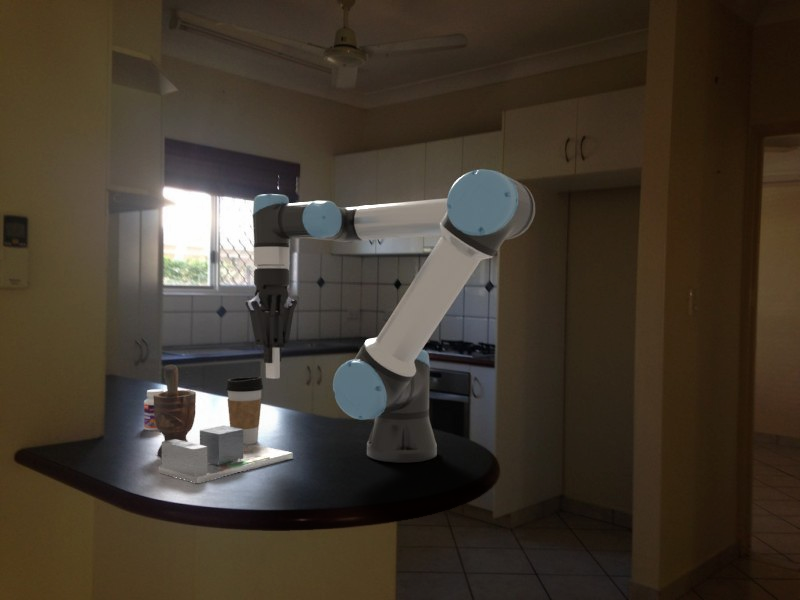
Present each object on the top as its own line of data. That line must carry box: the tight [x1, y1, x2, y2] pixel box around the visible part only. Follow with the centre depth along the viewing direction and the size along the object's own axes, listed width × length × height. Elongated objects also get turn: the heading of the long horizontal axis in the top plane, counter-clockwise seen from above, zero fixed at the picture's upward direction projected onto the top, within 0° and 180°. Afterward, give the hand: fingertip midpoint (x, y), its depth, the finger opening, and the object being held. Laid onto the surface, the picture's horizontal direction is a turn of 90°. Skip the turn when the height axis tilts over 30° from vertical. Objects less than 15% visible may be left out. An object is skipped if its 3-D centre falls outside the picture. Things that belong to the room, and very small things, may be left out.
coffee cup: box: [225, 376, 264, 446], centre depth 160 cm, size 8×8×15 cm
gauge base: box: [158, 439, 294, 484], centre depth 139 cm, size 12×24×6 cm, turn 143°
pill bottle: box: [143, 388, 165, 432], centre depth 174 cm, size 5×5×10 cm
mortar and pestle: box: [154, 364, 197, 457], centre depth 147 cm, size 12×9×20 cm
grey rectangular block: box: [199, 425, 244, 465], centre depth 137 cm, size 8×6×6 cm
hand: (272, 377), depth 148 cm, fingers closed
